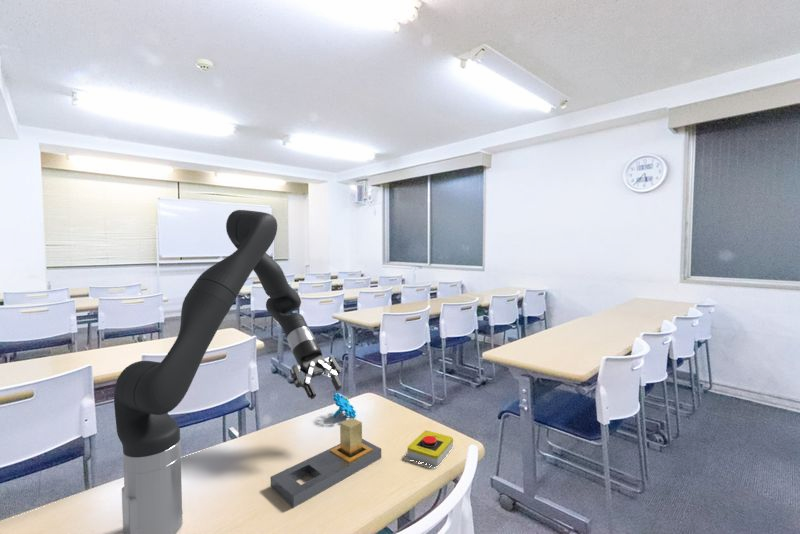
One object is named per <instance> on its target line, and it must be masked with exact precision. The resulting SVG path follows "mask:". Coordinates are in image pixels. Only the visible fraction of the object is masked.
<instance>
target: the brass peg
mask: <svg viewBox="0 0 800 534" xmlns="http://www.w3.org/2000/svg"><path fill="white" fill-rule="evenodd" d="M339 437H340V438H339V439H340V441H339V442H340V443H339V444H340V452H341V453H342V454H344V455H346V456H347V457H349V458H351V457H353V456H355V455H357V454H359V453H361V452H362V439H363V422H362V421H360V420H358V419H355V417H354V418H350V417H349V418H348V419H346V420H344V421H342V422H340V423H339Z"/></svg>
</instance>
